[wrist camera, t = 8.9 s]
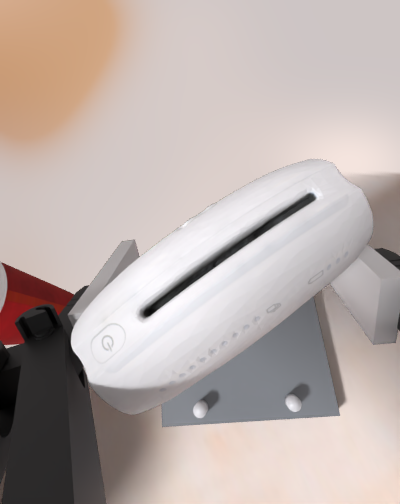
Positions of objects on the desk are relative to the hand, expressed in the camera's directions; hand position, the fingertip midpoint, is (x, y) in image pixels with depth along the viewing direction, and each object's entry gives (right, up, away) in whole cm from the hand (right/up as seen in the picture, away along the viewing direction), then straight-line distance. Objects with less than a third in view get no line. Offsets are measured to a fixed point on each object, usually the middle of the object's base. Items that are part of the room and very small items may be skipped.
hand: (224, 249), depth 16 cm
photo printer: (+1, -4, +3) cm, 5 cm away
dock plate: (+3, -8, +14) cm, 16 cm away
